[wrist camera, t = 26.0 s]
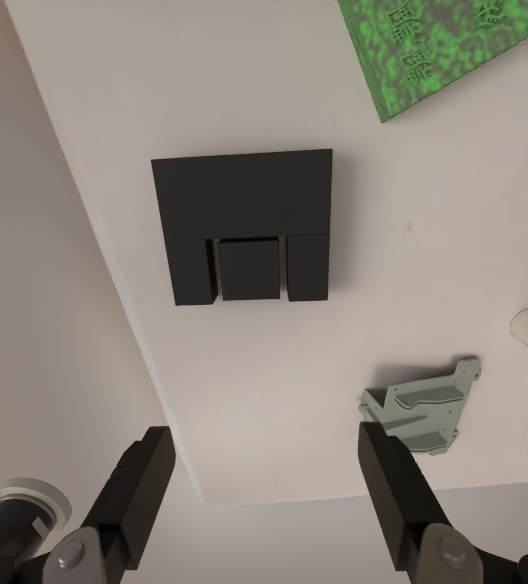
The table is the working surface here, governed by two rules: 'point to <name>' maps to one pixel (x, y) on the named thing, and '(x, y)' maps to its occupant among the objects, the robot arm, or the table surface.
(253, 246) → the small black block
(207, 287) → the black flat notched block
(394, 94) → the green jade tablet
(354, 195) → the table surface
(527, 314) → the tube
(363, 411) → the metal bracket
